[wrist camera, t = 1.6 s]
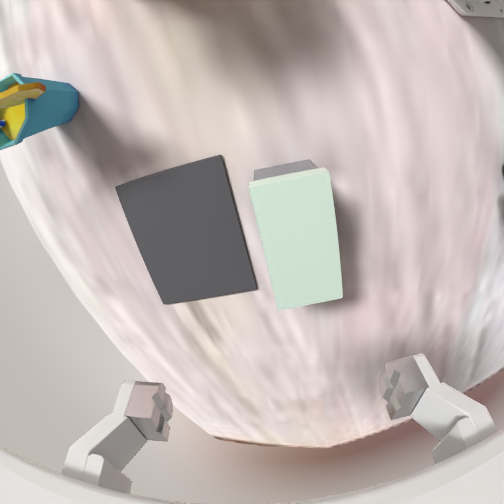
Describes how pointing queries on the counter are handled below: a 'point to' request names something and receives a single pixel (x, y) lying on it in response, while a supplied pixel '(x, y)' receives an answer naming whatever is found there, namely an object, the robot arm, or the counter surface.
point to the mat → (188, 231)
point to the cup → (33, 107)
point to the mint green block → (299, 236)
